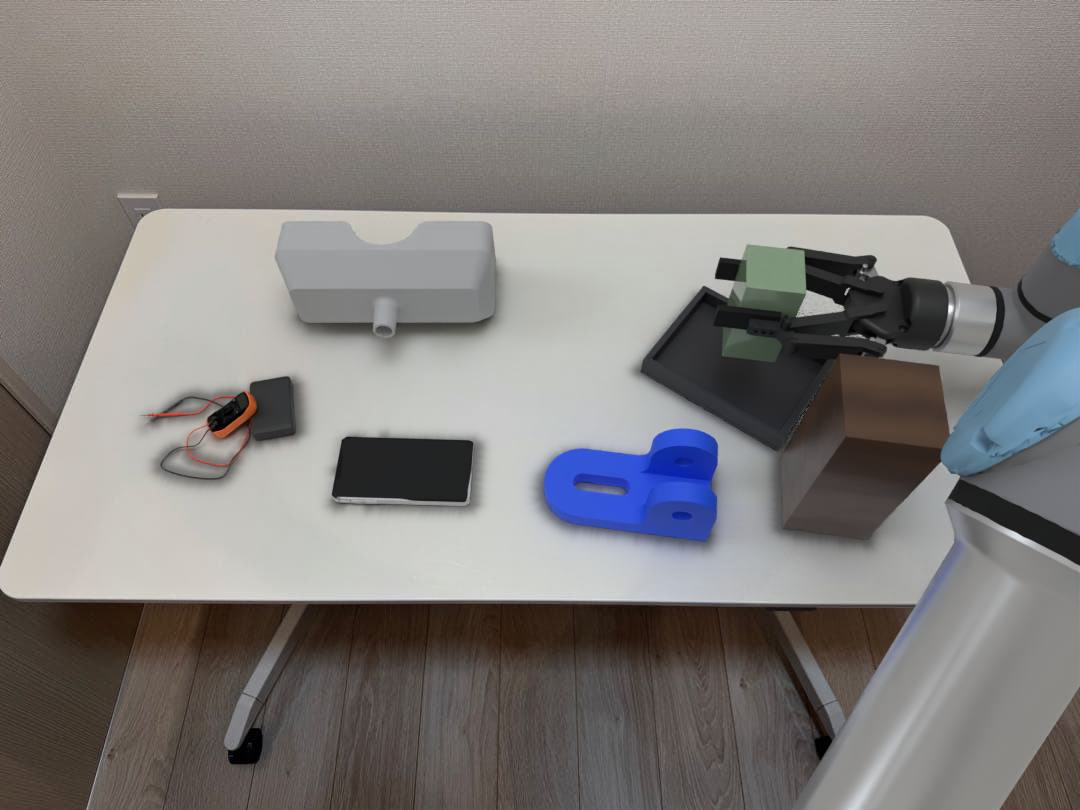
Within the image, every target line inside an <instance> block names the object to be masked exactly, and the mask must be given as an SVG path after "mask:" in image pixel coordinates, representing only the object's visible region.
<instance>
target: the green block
mask: <svg viewBox="0 0 1080 810" xmlns="http://www.w3.org/2000/svg"><path fill="white" fill-rule="evenodd" d="M786 248H787V247H786ZM786 248H785V247H778V246H777V247H776V246H766V245H757V244H749V243H747V244H746V245H745V248H744V252H743V254H742V257H741V259H740V260H741V263H740V266H739V269H738V272H737V275H736V278H735V281H733V284H732V287H731V291H730V293H729V297H728V298H729V299H728V303H727V306H736V307H743V308H752V309H761V310H769V311H778V312H781V320H780V321H783V318H784V316H785V315H787V314H788V316H789V318H796V317H797V316H798V313H799V312H800V309H801V307H802V304H803V302H804V300H805V298H806V295H807V290H806V275H805V255H804V250H795V249H786ZM781 348H782V345H781V342H780V341H778V340H777V339H776V338H770V337H761V336H753V335H749V334H747V333H746V330H742V329H734V328H725V327H723V340H722V356H725V357H733V358H742V359H750V360H758V361H766V362H775V361H776V359H777V357H778V355H779V352H780V350H781Z"/></svg>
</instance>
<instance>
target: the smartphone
mask: <svg viewBox="0 0 1080 810" xmlns="http://www.w3.org/2000/svg"><path fill="white" fill-rule="evenodd" d="M340 441H341V442H340V445H339V446H340V447H339V452H338V457H337V463H336V469H335V474H334V478H333V479H334V480H333V484H332V491H331V497H332V499H333V500H334V502H336V503H347V504H359V505H360V504H361V505H362V504H363V505H365V504H366V505H378V504H379V505H380V504H382V505H383V504H384V505H410V506H411V505H413V506H416V505H417V506H450V507H452V506H453V507H466V506H468V505H470V503H471V488H472V477H473V464H474V451H475V444H474V441H472V440H470V439H444V438H443V439H442V438H437V439H435V438H410V437H407V438H406V437H382V436H345V437H344V438H342V439H341V440H340Z"/></svg>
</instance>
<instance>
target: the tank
mask: <svg viewBox="0 0 1080 810" xmlns="http://www.w3.org/2000/svg"><path fill="white" fill-rule="evenodd" d="M493 231H494V230H493V226H492V224H491V223H489V222H487V221H483V220H426V221H423V222H421V223H419V224H418V225H417V226H416V227H415V228H414V230H413V231H412V232H411V233H410V234H409V235H407V236H406V237H405V238H403V239H400V240H398V241H396V242H392V243H386V244H377V243H372V242H368V241H365V240H363V239H362V238H360V237H359V236H358V235H357V234H356V233H355V231H354V229H353V226H352V225H351V224H350V223H349V222H347V221H345V220H286V221H284V222H283V223H282V224H281V228H280V232H279V237H278V241H277V245H276V249H275V252H274V260H275V263H276V265H277V268H278V270H279V272H280V275H281V277H282V280H283V282H284V284H285V286H286V289H287V291H288V294H289V296H290V299H291V301H292V304H293V306H294V309H295V311H296V313H297V315H298V317H299V319H300V321H302V322H304V323H310V324H311V323H316V324H317V323H323V324H328V323H329V324H333V323H335V324H336V323H337V324H339V323H341V324H343V323H345V324H347V323H349V324H351V323H352V324H353V323H355V324H358V323H359V324H360V323H364V324H366V323H372V332H373V334H374V335H375V336H377V337H378V338H383V339H389V338H392V337H394V336H395V334H396V329H397V323H399V324H400V323H402V324H403V323H405V324H407V323H477V322H480V321H483V320H486V319H489V318H491V317H492V316H494V314H495V310H496V309H495V308H496V306H495V305H496V279H497V278H496V277H497V276H496V275H497V256H496V255H497V254H496V248H495V241H494V239H495V238H494V232H493Z"/></svg>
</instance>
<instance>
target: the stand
mask: <svg viewBox="0 0 1080 810" xmlns="http://www.w3.org/2000/svg"><path fill="white" fill-rule="evenodd" d="M945 401H946V400H945V394H944V388H943V382H942V376H941V369H940V365H939V364H931V363H923V362H916V361H915V362H914V361H906V360H898V359H890V358H874V357H866V356H857V355H849V354H841V353H840V354H839V355H838V357H837V359H836V360H835V362H834V364H833V366H832V367H831V369H830V371H829V372H828V374H827V375H826V377H825V378H824V380H823V381H822V383H821V384H820V386H819V387H818V389H817V391H816V393H815V394H814V396H813V398H812V401H811V402H810V404H809V406H808V407H807V409H806V411H805V413H804V414H803V416H802V418H801V420H800V422H799V424H798V425H797V427H796V429H795V430H794V432H793V434H792V435H791V437H790V439H789V441H788V442H787V444H786V446H785V447H784V450H782V451H783V452H782V453H781V455H780V484H781V485H780V486H781V489H780V490H781V524H782V525H781V528H782V529H785V530H792V531H800V532H807V533H814V534H822V535H830V536H836V537H843V538H852V539H859V540H866V541H867V540H868V539H869V538H870V537H871V536H872V535H873V534H874V533H875V532H876V531H877V530H878V529H879V528H880V526H882V525H883V523H885V522H886V520H887V519H888V518H889V517H890V516H891V515H892V514H893V513H894V512H895V511H896V510H897V509H898V508H899V507H900V506H901V505H902V504H903V503H904V501H906V499H907V498H909V496H910V495H911V494H912V493H913V492H914V491H915V490H916V489H917V488H918V487H919V486H920V485H921V484H922V483H923V482H924V480H925V479H927V477H929V475H930V474H932V472H933V471H934V470H935V469H936V468H937V467H938V466H939V465H940V464H942V461H941V451H942V448H943V446H944V443H945V442H946V440H947V439H948V437H949V436H950V435H951V431H950V426H949V418H948V413H947V408H946V407H947V406H946V402H945Z"/></svg>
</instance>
